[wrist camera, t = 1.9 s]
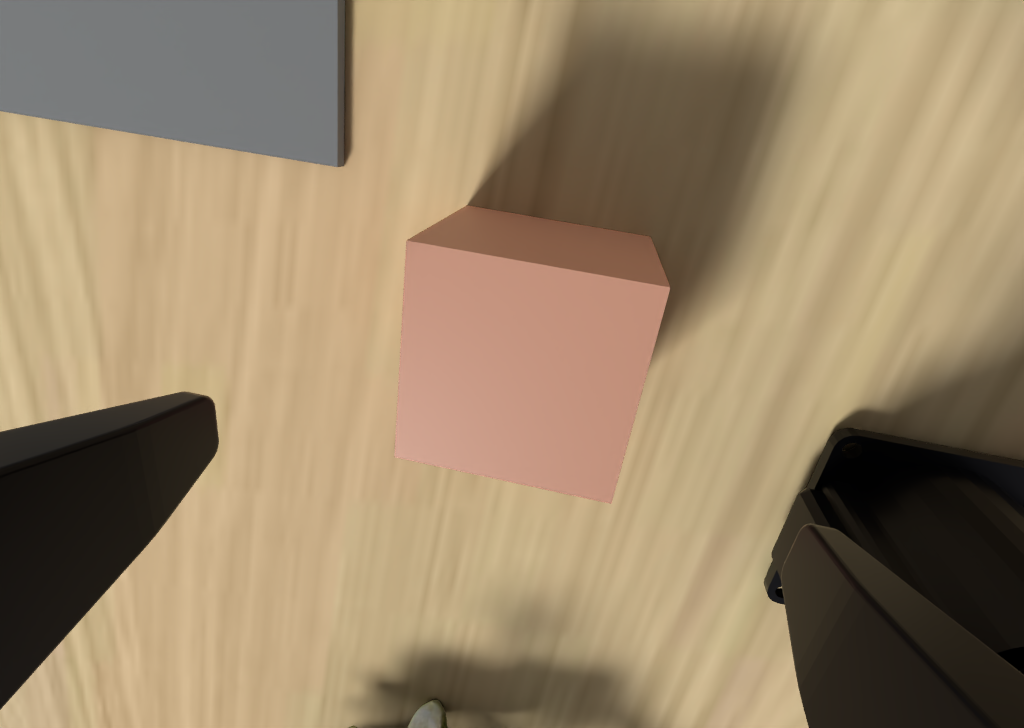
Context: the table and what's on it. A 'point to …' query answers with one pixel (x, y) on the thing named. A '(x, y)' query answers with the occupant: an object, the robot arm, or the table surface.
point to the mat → (183, 70)
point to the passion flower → (428, 716)
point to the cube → (526, 348)
